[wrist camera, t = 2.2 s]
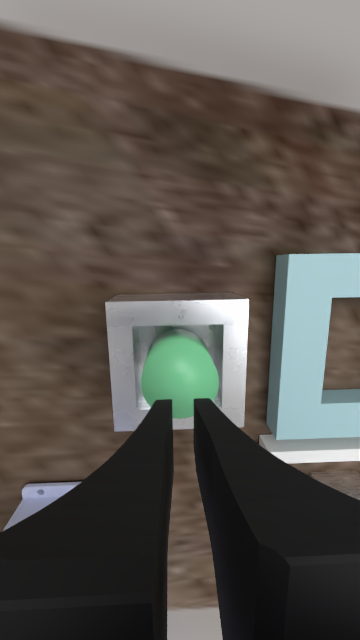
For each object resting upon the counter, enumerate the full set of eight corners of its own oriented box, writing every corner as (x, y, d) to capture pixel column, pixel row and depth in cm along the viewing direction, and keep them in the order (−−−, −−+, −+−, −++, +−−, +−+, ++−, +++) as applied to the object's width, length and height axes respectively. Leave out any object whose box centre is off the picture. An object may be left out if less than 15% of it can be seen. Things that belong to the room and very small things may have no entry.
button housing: (125, 398, 20) (114, 431, 16) (119, 294, 18) (105, 301, 14) (229, 395, 20) (243, 426, 16) (232, 292, 19) (249, 299, 15)
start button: (148, 389, 17) (142, 419, 14) (145, 329, 16) (139, 346, 13) (208, 387, 17) (218, 417, 14) (209, 328, 16) (219, 345, 13)
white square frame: (252, 562, 24) (259, 589, 22) (259, 435, 21) (268, 452, 19) (392, 555, 24) (411, 581, 22) (416, 429, 21) (441, 445, 19)
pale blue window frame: (266, 423, 21) (276, 439, 19) (276, 255, 18) (289, 254, 16) (412, 418, 21) (437, 434, 19) (443, 253, 19) (475, 251, 17)
